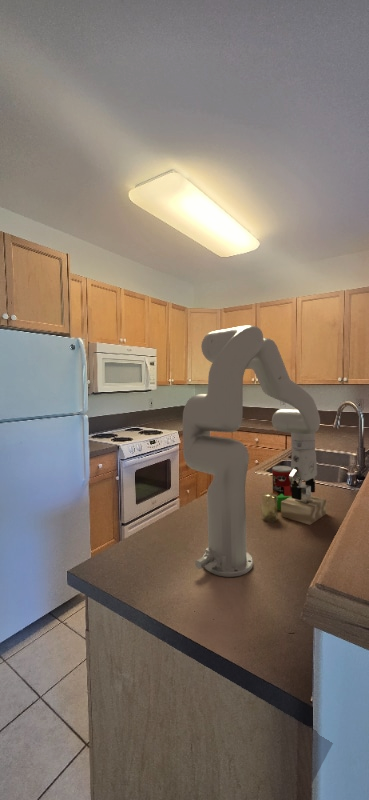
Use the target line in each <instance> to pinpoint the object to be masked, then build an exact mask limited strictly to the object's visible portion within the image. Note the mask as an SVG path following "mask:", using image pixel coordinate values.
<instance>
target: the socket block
mask: <svg viewBox="0 0 369 800" xmlns="http://www.w3.org/2000/svg"><path fill="white" fill-rule="evenodd" d="M326 515H327V499H326V498H322V497H318V496H314V495H311V502H310V503H308V504H305V503H301V502H297V501H296V499H293V498H292V496H291V497H289V498H287V499H285V500H283V501H281V510H280V516H281V517H282V518H286V519H289V520H292V521H295V522H299V523H302V524H305V525H309V526H310V525H312V524H313V523H315V522H317V521H318V520H319V519H321V518H322V517H323V516H326Z"/></svg>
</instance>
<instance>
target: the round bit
mask: <svg viewBox="0 0 369 800" xmlns="http://www.w3.org/2000/svg"><path fill="white" fill-rule="evenodd" d="M260 495H261V519H262V520H263V521H264V522H272V523H273V522H276V521H278V510H277V494H275V493H273V491H271V492H269V491H268V492H267V491H266V492H262V493H261V494H260Z"/></svg>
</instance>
